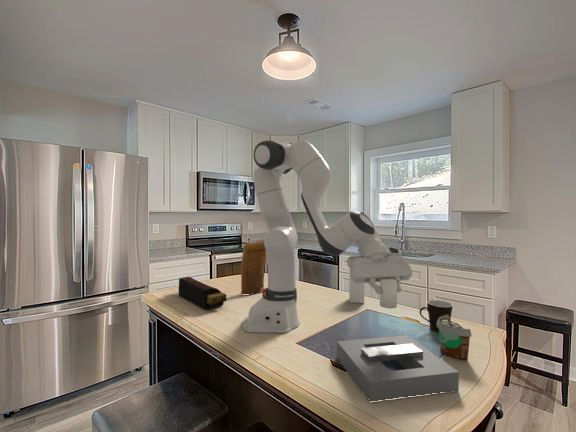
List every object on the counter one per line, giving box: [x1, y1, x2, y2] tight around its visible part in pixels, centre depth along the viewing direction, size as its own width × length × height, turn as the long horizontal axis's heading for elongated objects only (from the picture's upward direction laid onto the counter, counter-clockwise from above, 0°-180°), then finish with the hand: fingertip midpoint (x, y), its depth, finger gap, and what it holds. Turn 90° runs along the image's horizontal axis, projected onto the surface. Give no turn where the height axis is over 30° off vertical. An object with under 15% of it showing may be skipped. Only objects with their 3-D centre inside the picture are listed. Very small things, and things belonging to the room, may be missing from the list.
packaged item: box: [178, 276, 227, 311], centre depth 147 cm, size 39×10×10 cm, turn 41°
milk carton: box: [348, 273, 366, 304], centre depth 148 cm, size 7×7×19 cm
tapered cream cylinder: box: [379, 278, 398, 309], centre depth 92 cm, size 5×5×8 cm
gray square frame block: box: [336, 335, 460, 403], centre depth 83 cm, size 24×22×5 cm
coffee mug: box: [418, 299, 454, 333], centre depth 114 cm, size 12×9×10 cm
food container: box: [437, 316, 472, 361], centre depth 95 cm, size 12×6×10 cm, turn 5°
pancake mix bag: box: [240, 240, 267, 295], centre depth 161 cm, size 7×19×28 cm, turn 136°
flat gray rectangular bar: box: [361, 344, 423, 362], centre depth 83 cm, size 16×5×2 cm, turn 101°
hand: (389, 292), depth 91 cm, fingers closed on tapered cream cylinder, 5 cm apart
